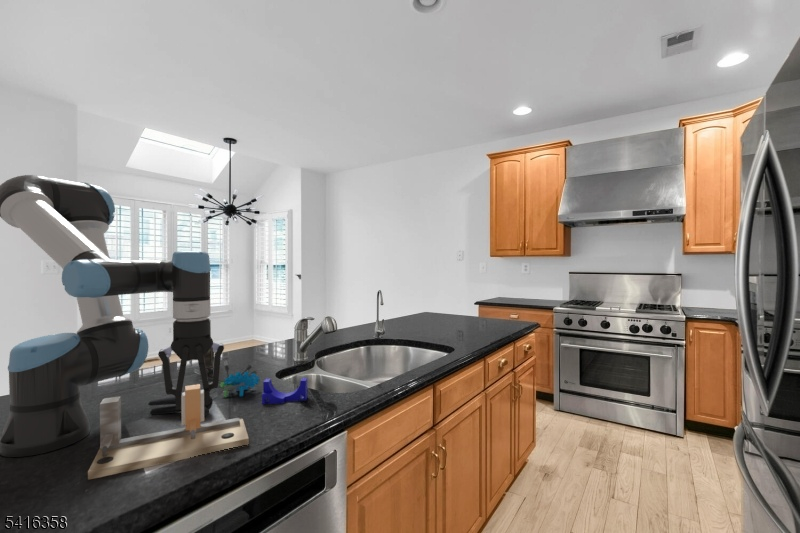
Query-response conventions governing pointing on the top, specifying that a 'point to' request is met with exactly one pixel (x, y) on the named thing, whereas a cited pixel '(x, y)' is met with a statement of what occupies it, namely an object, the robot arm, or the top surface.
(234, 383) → the gear
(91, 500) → the top surface
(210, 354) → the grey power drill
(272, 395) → the cable clip
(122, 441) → the plate
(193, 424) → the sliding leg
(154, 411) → the can opener
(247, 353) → the top surface
